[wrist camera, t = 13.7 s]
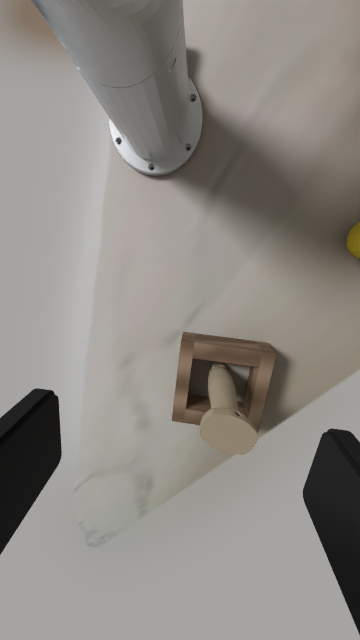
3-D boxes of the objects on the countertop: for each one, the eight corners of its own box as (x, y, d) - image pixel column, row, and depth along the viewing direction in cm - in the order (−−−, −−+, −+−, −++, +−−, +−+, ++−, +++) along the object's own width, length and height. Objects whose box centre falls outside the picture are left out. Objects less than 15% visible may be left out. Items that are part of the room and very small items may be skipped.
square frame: (183, 331, 40) (181, 340, 35) (267, 342, 39) (276, 353, 35) (174, 404, 43) (171, 420, 39) (252, 415, 43) (257, 433, 38)
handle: (207, 351, 40) (211, 407, 26) (242, 366, 40) (265, 430, 26) (195, 374, 41) (193, 439, 27) (229, 388, 42) (244, 461, 27)
